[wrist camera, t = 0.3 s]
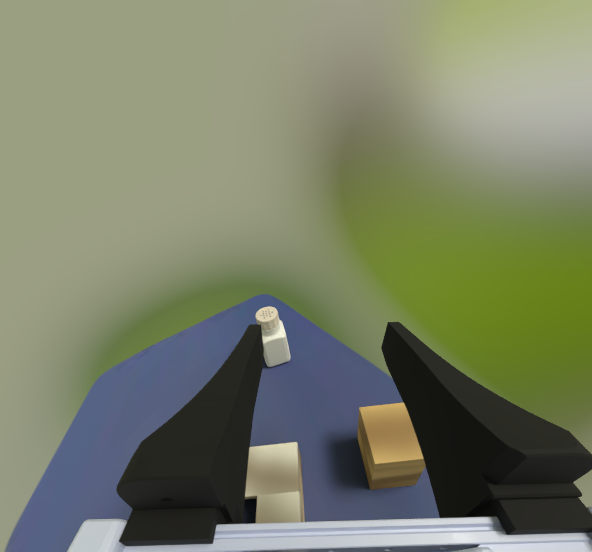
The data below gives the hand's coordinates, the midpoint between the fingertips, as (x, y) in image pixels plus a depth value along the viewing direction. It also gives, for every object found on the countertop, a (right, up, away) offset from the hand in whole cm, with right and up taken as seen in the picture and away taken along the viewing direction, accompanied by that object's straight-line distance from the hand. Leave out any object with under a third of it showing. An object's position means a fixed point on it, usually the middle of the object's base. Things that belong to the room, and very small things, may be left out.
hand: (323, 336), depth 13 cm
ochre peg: (+8, -16, +11) cm, 22 cm away
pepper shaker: (-5, -10, +24) cm, 27 cm away
